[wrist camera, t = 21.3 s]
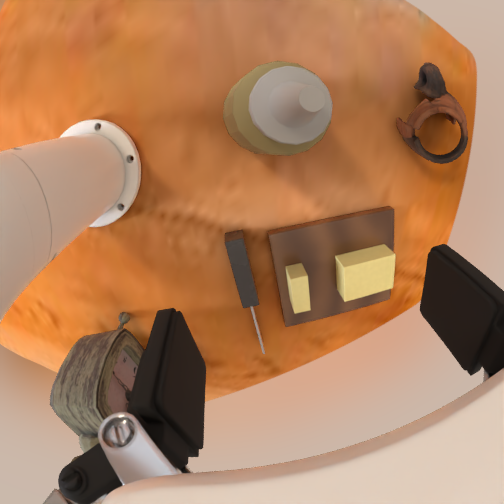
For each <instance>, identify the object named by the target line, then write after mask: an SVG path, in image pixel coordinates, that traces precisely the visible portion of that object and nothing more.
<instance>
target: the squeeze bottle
mask: <svg viewBox="0 0 504 504" xmlns="http://www.w3.org/2000/svg"><path fill="white" fill-rule="evenodd" d="M332 104H333V103H332V100H331V97H330V94H329V90H328V88H327V87H326V86H325V84H324V83H323V82H322V81H321V80H320V78H319V77H318V76H316V75H315V73H313V72H311V71H310V70H308V69H306V68H304V67H302V66H301V65H299V64H296V63H289V62H282V61H275V62H271V63H267V64H263V65H259V66H257V67H256V68H255V69H253V70H252V71H251V72H249V73H248V74H247V75H245V76H244V77H243V78H242V79H241V80H239V81H238V82H237V83H236V84H235V85H234V86H233V87H232V88H231V90H230V92H229V94H228V96H227V98H226V99H225V101H224V111H223V120H224V122H225V125H226V128H227V131H228V133H229V135H230V136H231V137H232V138H233V139H234V140H235V141H236V142H237V143H238V144H239V145H240V146H241V147H243V148H245V149H247V150H249V151H251V152H254V153H256V154H270V155H286V156H290V155H293V154H297V153H300V152H304V151H307V150H309V149H310V148H311V147H312V146H314V145H315V144H316V143H317V142H319V141H320V140H321V139H322V138H323V136H324V134H325V132H326V130H327V129H328V127H329V125H330V122H331V115H332Z"/></svg>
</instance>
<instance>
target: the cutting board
mask: <svg viewBox="0 0 504 504" xmlns="http://www.w3.org/2000/svg"><path fill="white" fill-rule="evenodd" d="M268 237H269V242H270V247H271V252H272V257H273V263H274V268H275V273H276V279H277V284H278V289H279V295H280V300H281V306H282V311H283V317H284V322H285V326H286V327H289V326H293V325H297V324H301V323H306V322H310V321H314V320H318V319H322V318H325V317H329V316H333V315H337V314H340V313H344V312H348V311H351V310H355V309H358V308H362V307H365V306H369V305H372V304H375V303H378V302H382V301H385V300H388V299H390V291H391V289H388V290H385V291H381V292H378V293H374V294H371V295H368V296H364V297H361V298H357V299H354V300H350V301H346V302H345V301H344V300H343V298H342V296H341V295H340V293H339V291H338V290H337V276H336V258H335V256H337V255H341V254H345V253H349V252H354V251H358V250H362V249H366V248H370V247H374V246H378V245H382V244H385V245H386V246H387V247H388V248H389V249H390V250H392V251H393V247H394V209H393V208H392V207H390V206H388V207H383V208H377V209H372V210H367V211H362V212H357V213H352V214H347V215H342V216H337V217H333V218H328V219H323V220H318V221H313V222H308V223H304V224H299V225H294V226H289V227H285V228H280V229H275V230H271V231H268ZM299 263H302V265H303V267H304V269H305V271H306V273H307V275H308V284H309V296H310V309H311V310H309V311H305V312H300V313H296V314H295V313H294V310H293V307H292V304H291V301H290V296H289V289H288V282H287V274H286V266H289V265H294V264H299Z"/></svg>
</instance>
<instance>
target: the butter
mask: <svg viewBox="0 0 504 504" xmlns="http://www.w3.org/2000/svg"><path fill="white" fill-rule="evenodd" d="M395 257H396V254H395V253H394V252H393V251H392V250H390V249H389V248H388V247H387V246H386V245H385V244H382V245H378V246H374V247H370V248H366V249H362V250H358V251H354V252H349V253H345V254H341V255H337V256H335V258H336V276H337V290H338V291H339V293H340V295H341V296H342V298H343V300H344V301H345V302H346V301H350V300H354V299H357V298H361V297H364V296H368V295H371V294H374V293H378V292H381V291H385V290H388V289H391V288H393V284H394V272H395Z"/></svg>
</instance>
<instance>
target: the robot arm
mask: <svg viewBox="0 0 504 504" xmlns="http://www.w3.org/2000/svg"><path fill="white" fill-rule="evenodd" d="M100 125H101V129H100ZM131 156H133V157H134V160H131ZM140 181H141V162H140V158H139V153H138V151H137V149H136V146H135V144H134V142H133V141H132V139H131V138H130V136H129V135H128V134H127V133H126V132H125V131H124V130H123V129H122V128H121V127H119V126H117V125H116V124H114V123H112V122H109V121H106V120H98V119H93V120H85V121H82V122H79V123H77V124H75V125H73V126H71V127H70V128H69V129H67V130H66V131H65V132H64V133H63V134H62V135H61V136H60V138H56V139H51V140H46V141H41V142H37V143H32V144H28V145H24V146H20V147H16V148H12V149H8V150H4V151H1V152H0V323H1V321H2V319H3V317H4V316H5V314H6V313H7V311H8V310H9V308H10V307H11V306H12V304H13V303H14V302H15V300H16V299H17V298H18V296H19V295H20V294H21V293H22V292H23V290H24V289H25V288H26V287H27V286H28V285H29V284H30V283H31V281H32V280H33V279H34V278H35V277H36V276H37V275H38V274H39V273H40V272H41V271H42V270H43V269H44V268H45V267H46V266H47V265H48V264H49V263H50V262H51V261H52V260H53V259H54V258H55V257H56V256H57V255H58V254H59V253H60V252H61V251H62V250H63V249H64V248H66V247H67V246H68V245H69V244H70V243H71V242H72V241H73V240H74V239H75V238H76V237H77V236H79V235H80V234H81V233H82V232H83V231H84V230H85V229H86V228H88V227H100V226H105V225H108V224H110V223H113V222H114V221H116V220H117V219H119V218H120V217H121V216H122V215H123V214H124V213H125V212H127V210H128V209H129V208H130V206H131V205H132V204H133V202H134V200H135V198H136V196H137V193H138V190H139V187H140ZM122 204H123V205H124V207H123V206H122ZM420 311H421V314H422V316H423V317H424V318H425V319H426V321H427V322H428V323H429V324H430V325H431V327H432V328H433V329H434V331H435V332H436V333H437V334H438V336H439V337H440V338H441V340H442V341H443V342H444V344H445V345H446V346H447V348H448V349H449V350H450V352H451V353H452V354H453V356H454V357H455V358H456V360H457V361H458V362H459V364H460V365H461V367H462V368H463V369H464V370H467V371H468V373H469V374H470V375H473V374H475V373H476V372H478V371H479V370H480V369H481V367H483V368H484V381H483V383H482V384H480V385H479V386H477V387H476V388H474V389H473V390H471V391H469V392H468V393H466V394H464V395H463V396H461V397H459V398H458V399H456V400H454V401H452V402H451V403H449V404H447V405H445V406H443V407H442V408H440V409H438V410H436V411H434V412H432V413H430V414H428V415H426V416H424V417H422V418H420V419H418V420H416V421H414V422H412V423H409V424H407V425H405V426H403V427H400V428H398V429H396V430H393V431H391V432H389V433H386V434H383V435H381V436H378V437H375V438H373V439H370V440H367V441H364V442H361V443H358V444H355V445H352V446H349V447H346V448H343V449H339V450H336V451H332V452H329V453H325V454H321V455H317V456H313V457H309V458H305V459H300V460H296V461H290V462H285V463H279V464H273V465H267V466H261V467H254V468H246V469H238V470H227V471H214V472H202V473H193V472H192V471H191V470H190V469H189V468H188V467H187V464H188V457H198V455H199V449H202V448H203V440H204V439H203V438H204V406H205V405H204V404H205V382H206V366H205V362H204V360H203V358H202V356H201V354H200V352H199V350H198V348H197V345H196V343H195V341H194V339H193V337H192V335H191V333H190V330H189V328H188V326H187V324H186V322H185V319H184V317H183V315H182V313H181V312H180V311H177V312H176V310H175V309H174V308H170V309H164V310H159V311H158V312H157V314H156V317H155V321H154V324H153V327H152V331H151V334H150V337H149V341H148V344H147V348H146V349H145V350H144V351H143V353H142V355H141V359H140V362H139V366H138V369H137V373H136V377H135V380H134V384H133V388H132V392H131V396H130V400H129V404H128V408H127V412H118V413H114V414H112V415H110V416H108V417H107V418H106V419H105V420H104V421H103V422H102V424H101V425H100V428H99V430H98V439H99V443H98V444H96V445H95V446H94V447H92V448H91V449H89V450H88V451H87V452H85V453H84V454H83V455H81V456H80V457H78V458H77V459H75V460H74V461H72V462H71V463H69V464H68V465H67V466H65V467H64V468H63V469H62V471H61V473H60V475H59V479H58V482H59V488H60V489H59V490H57V489H54V490H53V491H52V493H51V494H50V495H49V497H48V498H47V499H46V500H45V502H44V503H43V504H504V291H503V290H502V289H500V288H499V287H498V286H497V285H496V284H495V283H494V282H493V281H491V280H490V279H489V278H488V277H487V276H486V275H484V274H483V273H482V272H481V271H479V270H478V269H477V268H476V267H474V266H473V265H472V264H471V263H470V262H468V261H467V260H466V259H464V258H463V257H462V256H461V255H459V254H458V253H457V252H455V251H454V250H453V249H451V248H450V247H449V246H447V245H445V244H442V245H438V246H435V247H433V248H432V249H431V251H430V252H429V254H428V259H427V267H426V274H425V281H424V287H423V293H422V299H421V304H420Z"/></svg>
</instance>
